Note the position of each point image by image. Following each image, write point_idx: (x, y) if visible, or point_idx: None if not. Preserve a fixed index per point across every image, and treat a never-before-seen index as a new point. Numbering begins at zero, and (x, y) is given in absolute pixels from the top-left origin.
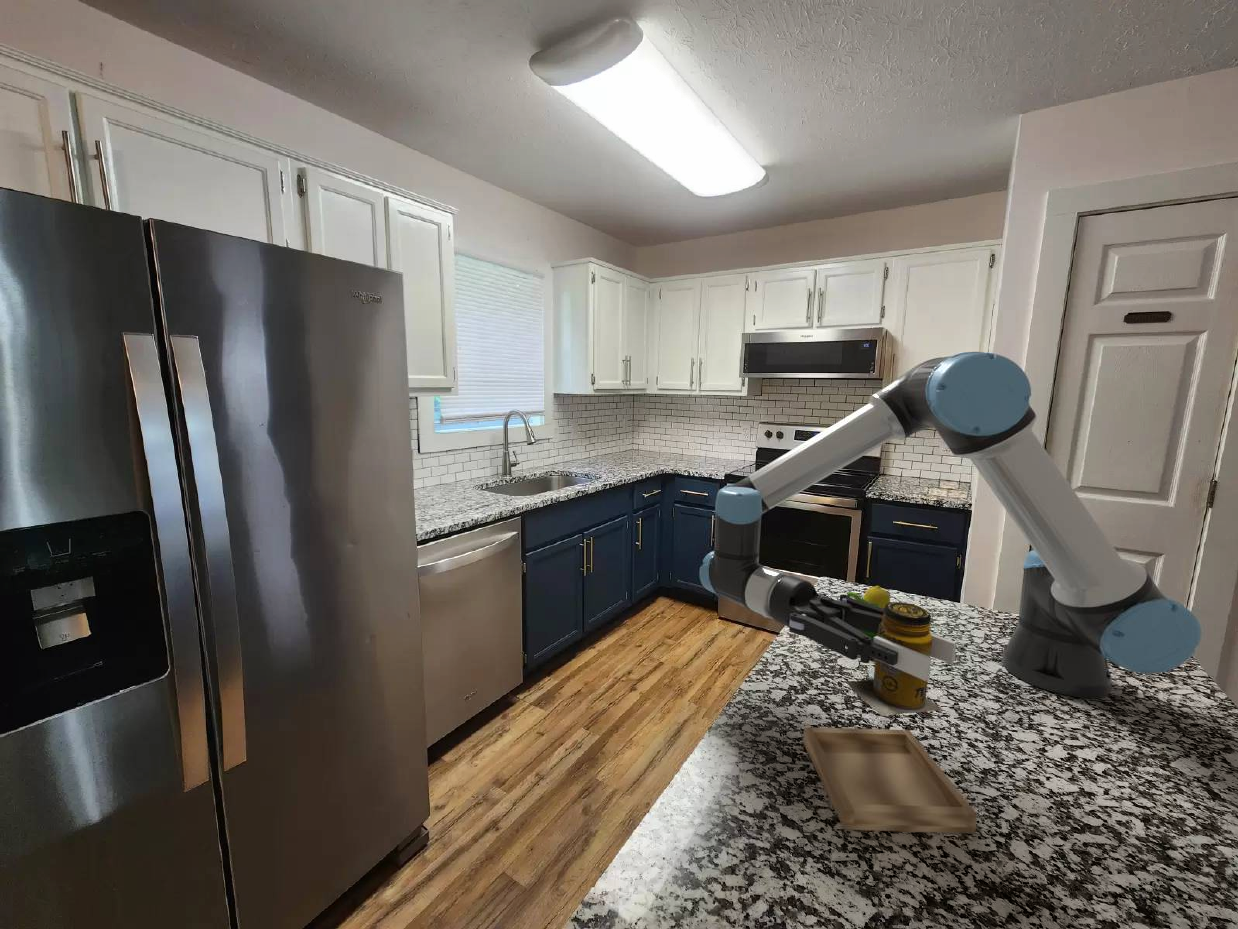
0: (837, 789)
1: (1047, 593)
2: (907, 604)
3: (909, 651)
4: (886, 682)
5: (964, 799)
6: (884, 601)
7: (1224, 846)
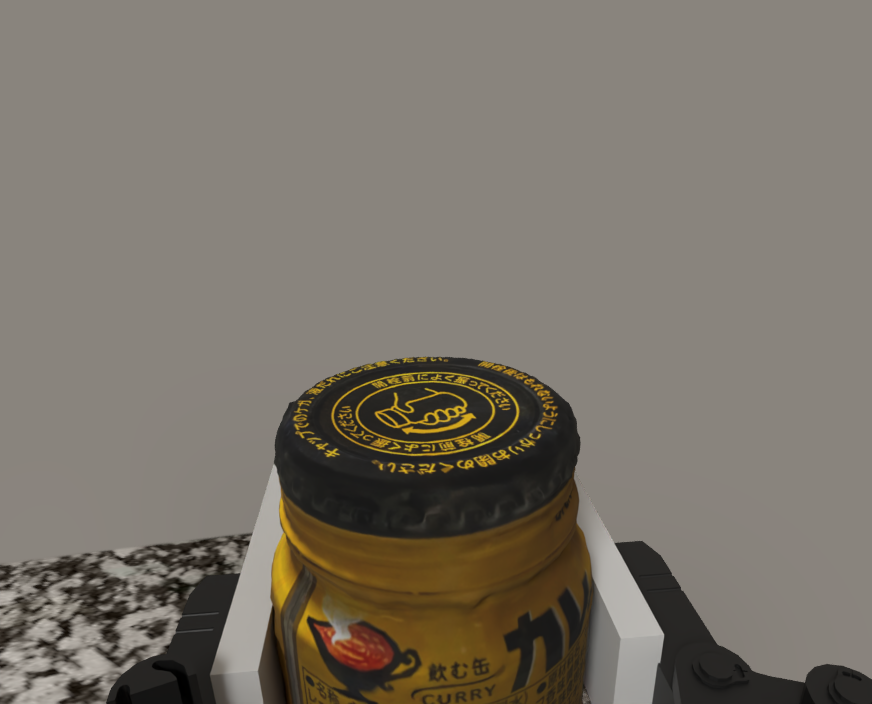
0: None
1: None
2: (326, 432)
3: (578, 489)
4: None
5: None
6: None
7: (114, 552)
